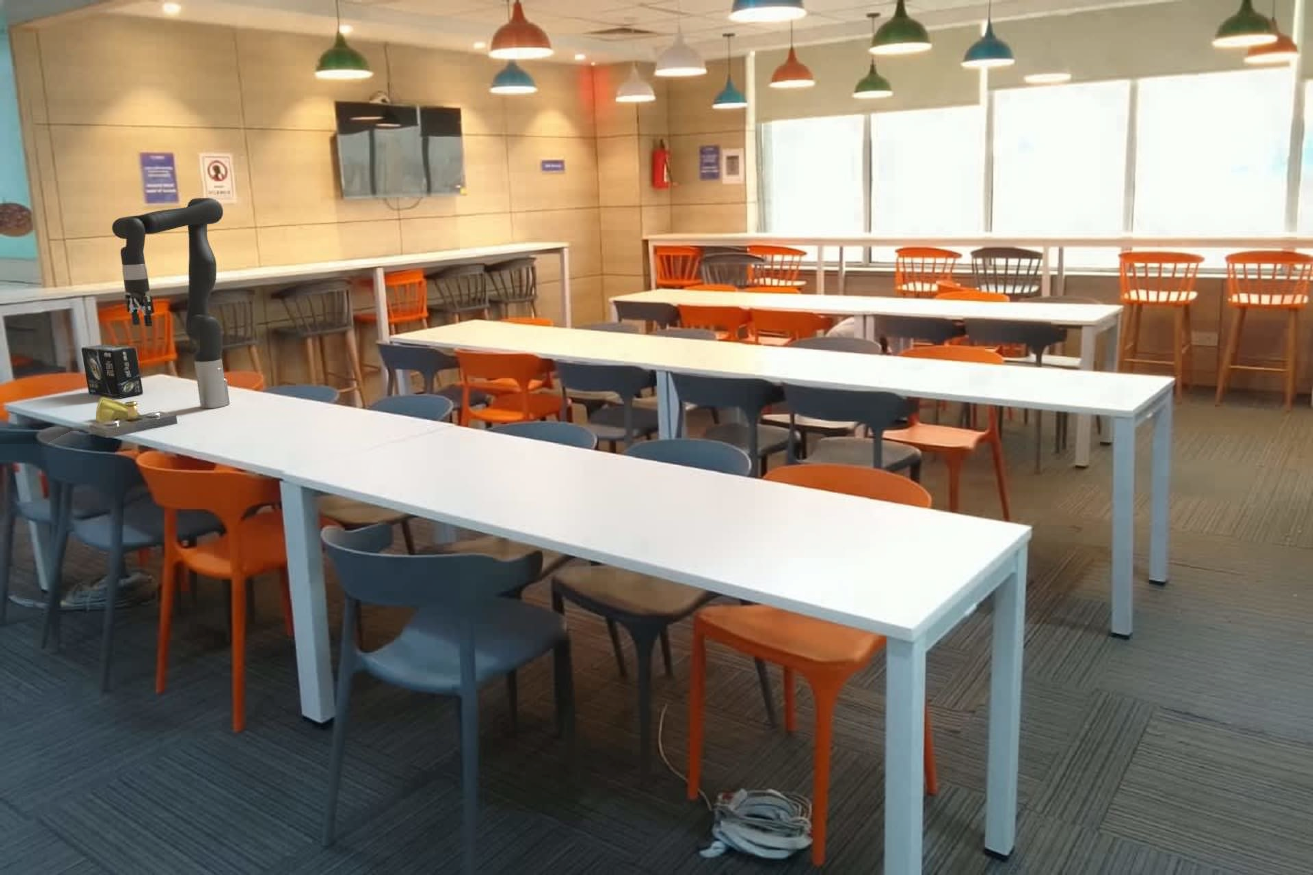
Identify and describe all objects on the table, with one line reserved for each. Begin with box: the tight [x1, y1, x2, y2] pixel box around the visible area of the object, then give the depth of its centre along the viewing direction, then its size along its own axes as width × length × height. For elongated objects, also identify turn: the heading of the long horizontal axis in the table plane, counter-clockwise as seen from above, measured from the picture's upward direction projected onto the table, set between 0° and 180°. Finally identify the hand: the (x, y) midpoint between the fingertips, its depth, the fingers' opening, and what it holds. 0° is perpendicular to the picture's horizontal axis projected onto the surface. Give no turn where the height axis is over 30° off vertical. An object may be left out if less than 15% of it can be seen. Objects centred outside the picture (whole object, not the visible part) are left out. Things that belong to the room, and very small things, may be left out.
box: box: [80, 344, 144, 399], centre depth 414 cm, size 23×10×19 cm, turn 56°
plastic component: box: [95, 396, 142, 423], centre depth 367 cm, size 20×7×10 cm
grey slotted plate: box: [89, 410, 178, 439], centre depth 354 cm, size 24×11×4 cm, turn 142°
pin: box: [124, 400, 139, 422], centre depth 354 cm, size 4×4×9 cm
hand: (142, 325), depth 359 cm, fingers open, 8 cm apart
